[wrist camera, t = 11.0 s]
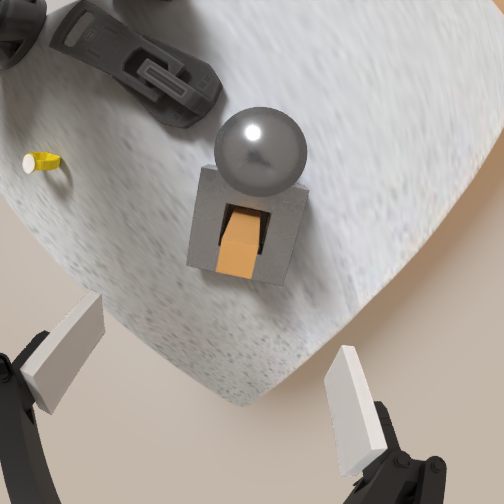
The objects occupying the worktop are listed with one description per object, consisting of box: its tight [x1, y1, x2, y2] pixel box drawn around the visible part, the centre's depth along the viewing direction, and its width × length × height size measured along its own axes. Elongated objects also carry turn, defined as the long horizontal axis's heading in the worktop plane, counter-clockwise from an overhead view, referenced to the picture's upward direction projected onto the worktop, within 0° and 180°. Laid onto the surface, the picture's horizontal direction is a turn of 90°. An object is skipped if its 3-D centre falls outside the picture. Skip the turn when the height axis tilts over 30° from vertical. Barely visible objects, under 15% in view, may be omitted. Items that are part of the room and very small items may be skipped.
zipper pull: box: [49, 0, 222, 128], centre depth 25 cm, size 9×7×25 cm
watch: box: [23, 152, 61, 174], centre depth 31 cm, size 6×3×6 cm, turn 70°
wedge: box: [216, 207, 260, 279], centre depth 31 cm, size 3×3×12 cm
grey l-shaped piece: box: [186, 107, 309, 286], centre depth 26 cm, size 18×12×20 cm
